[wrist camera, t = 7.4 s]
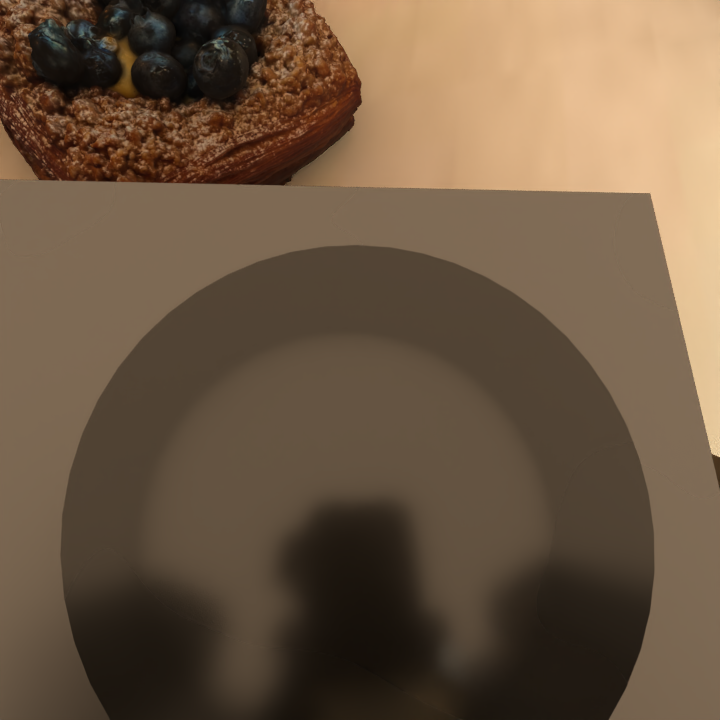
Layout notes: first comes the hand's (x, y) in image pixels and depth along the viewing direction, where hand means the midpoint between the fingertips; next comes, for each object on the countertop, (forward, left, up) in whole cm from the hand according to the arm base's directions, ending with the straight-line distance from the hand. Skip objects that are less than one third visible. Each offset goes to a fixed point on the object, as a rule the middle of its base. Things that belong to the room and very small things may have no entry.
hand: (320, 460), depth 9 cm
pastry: (+14, +9, -12) cm, 20 cm away
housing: (-1, 0, -8) cm, 8 cm away
